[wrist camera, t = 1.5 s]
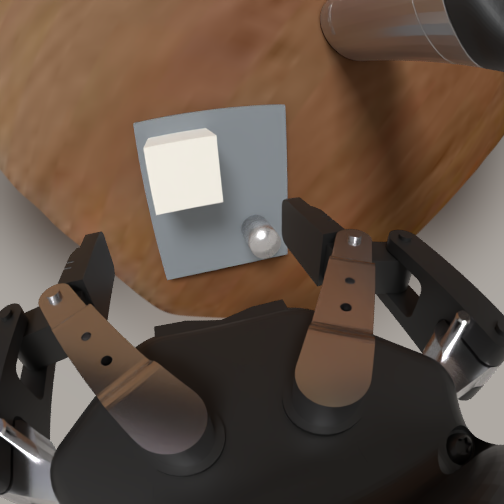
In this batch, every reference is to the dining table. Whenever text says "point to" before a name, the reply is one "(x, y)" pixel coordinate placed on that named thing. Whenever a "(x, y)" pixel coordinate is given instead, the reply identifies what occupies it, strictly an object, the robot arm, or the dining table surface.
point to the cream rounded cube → (183, 170)
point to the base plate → (223, 187)
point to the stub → (260, 236)
